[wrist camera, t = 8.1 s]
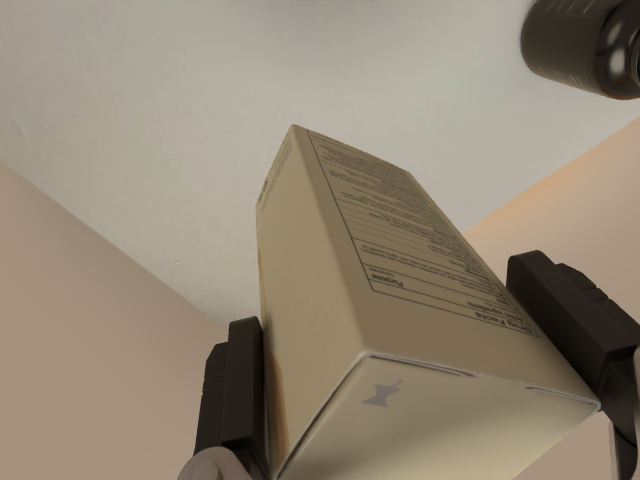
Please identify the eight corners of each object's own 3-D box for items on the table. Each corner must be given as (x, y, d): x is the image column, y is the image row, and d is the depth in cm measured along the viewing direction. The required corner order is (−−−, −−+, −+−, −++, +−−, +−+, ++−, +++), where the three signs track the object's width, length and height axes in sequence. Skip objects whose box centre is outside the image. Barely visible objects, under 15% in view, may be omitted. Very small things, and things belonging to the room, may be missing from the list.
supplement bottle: (610, 43, 33) (768, 72, 23) (530, 93, 34) (646, 141, 24) (595, -45, 29) (774, -58, 19) (506, 14, 30) (629, 31, 20)
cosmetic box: (252, 206, 18) (248, 490, 8) (290, 118, 16) (347, 346, 6) (373, 248, 21) (488, 514, 10) (419, 174, 19) (617, 411, 8)
